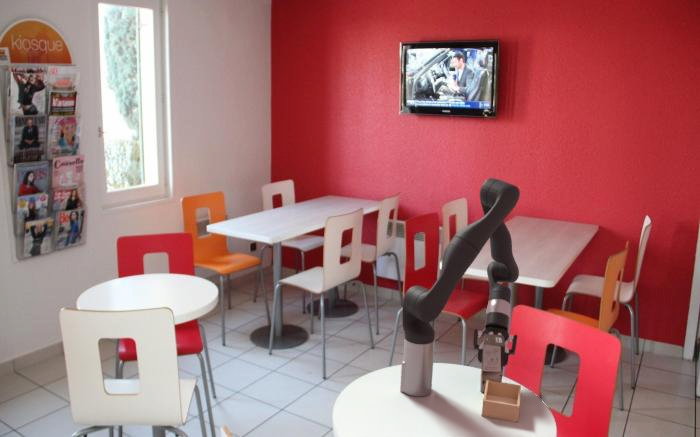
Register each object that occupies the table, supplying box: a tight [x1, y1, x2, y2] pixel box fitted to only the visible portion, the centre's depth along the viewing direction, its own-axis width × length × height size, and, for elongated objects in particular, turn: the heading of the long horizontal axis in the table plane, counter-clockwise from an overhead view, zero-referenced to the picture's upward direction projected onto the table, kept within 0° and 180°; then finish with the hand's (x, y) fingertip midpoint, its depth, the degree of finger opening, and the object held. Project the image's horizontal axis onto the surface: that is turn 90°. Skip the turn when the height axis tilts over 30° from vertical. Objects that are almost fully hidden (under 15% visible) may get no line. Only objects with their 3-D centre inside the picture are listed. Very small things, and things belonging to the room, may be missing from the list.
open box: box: [481, 380, 522, 423], centre depth 188 cm, size 10×13×5 cm
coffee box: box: [480, 334, 506, 393], centre depth 199 cm, size 9×6×16 cm
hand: (492, 363), depth 199 cm, fingers closed on coffee box, 6 cm apart
